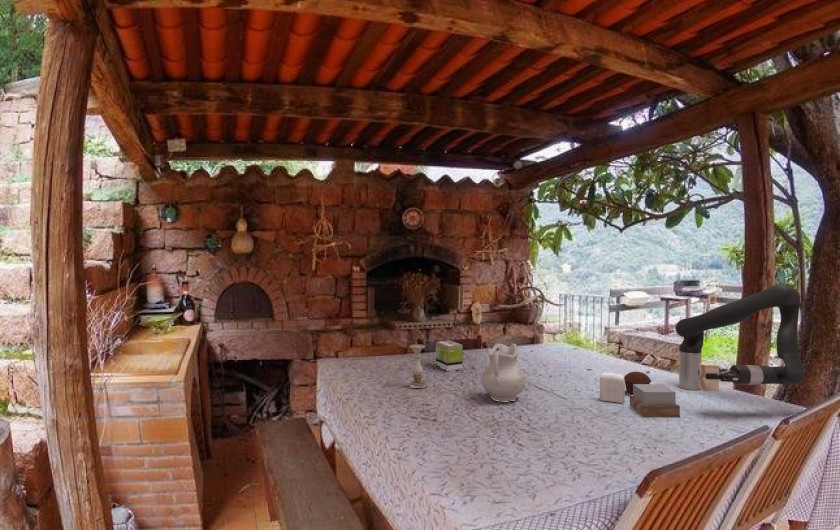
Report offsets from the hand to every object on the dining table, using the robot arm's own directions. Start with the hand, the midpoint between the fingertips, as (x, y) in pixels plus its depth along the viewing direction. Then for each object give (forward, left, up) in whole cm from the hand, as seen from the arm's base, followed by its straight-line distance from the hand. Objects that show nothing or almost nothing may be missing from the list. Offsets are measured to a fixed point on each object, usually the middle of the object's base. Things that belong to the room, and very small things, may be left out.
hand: (702, 374), depth 197 cm
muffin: (-29, -14, -16) cm, 36 cm away
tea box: (-80, -99, -16) cm, 128 cm away
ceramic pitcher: (-20, -76, -16) cm, 80 cm away
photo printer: (-18, -29, -16) cm, 38 cm away
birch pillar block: (0, +3, -6) cm, 7 cm away
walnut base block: (-4, -17, -17) cm, 24 cm away
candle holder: (-41, -115, -16) cm, 123 cm away
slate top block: (-4, -17, -12) cm, 21 cm away
